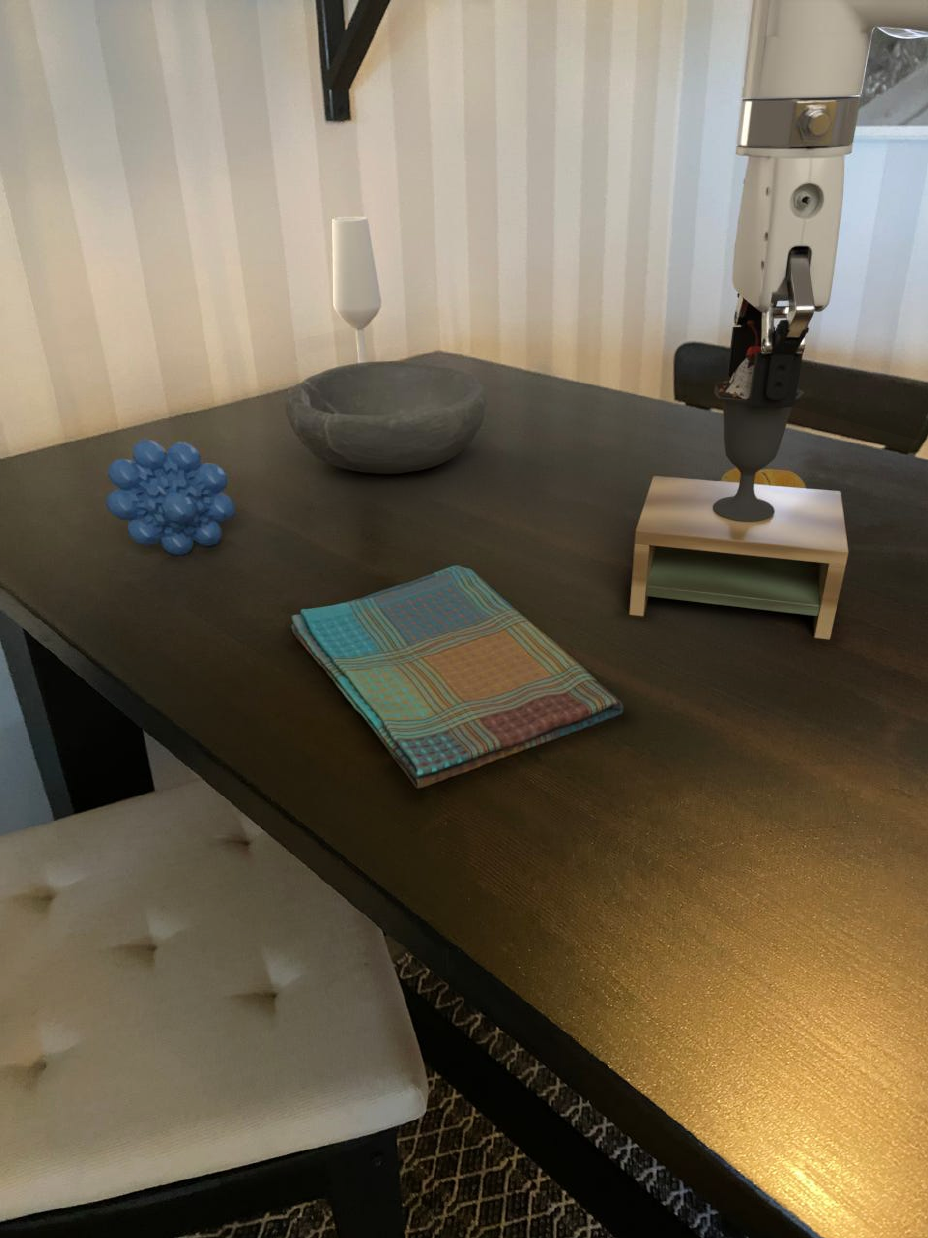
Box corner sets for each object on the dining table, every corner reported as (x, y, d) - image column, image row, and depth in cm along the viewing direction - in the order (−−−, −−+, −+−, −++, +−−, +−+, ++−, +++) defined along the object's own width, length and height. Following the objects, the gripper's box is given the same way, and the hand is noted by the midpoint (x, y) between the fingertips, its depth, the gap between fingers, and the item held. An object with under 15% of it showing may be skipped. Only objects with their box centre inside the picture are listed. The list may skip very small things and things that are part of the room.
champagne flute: (369, 405, 128) (353, 223, 116) (332, 398, 131) (314, 220, 119) (397, 393, 133) (385, 216, 121) (361, 386, 136) (346, 214, 124)
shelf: (829, 641, 72) (848, 551, 68) (629, 616, 76) (635, 530, 72) (824, 572, 82) (840, 490, 78) (646, 554, 86) (653, 475, 82)
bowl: (449, 513, 95) (445, 421, 90) (262, 492, 102) (248, 405, 97) (510, 440, 114) (510, 361, 109) (348, 426, 121) (341, 351, 115)
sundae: (719, 488, 79) (739, 311, 71) (796, 504, 75) (825, 319, 68) (688, 515, 74) (706, 329, 67) (768, 533, 71) (797, 339, 63)
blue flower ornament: (131, 587, 83) (101, 464, 77) (117, 558, 88) (88, 441, 82) (253, 557, 88) (234, 439, 82) (233, 531, 93) (214, 418, 87)
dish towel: (469, 582, 82) (468, 557, 81) (628, 715, 64) (630, 686, 63) (290, 634, 75) (286, 608, 74) (412, 799, 57) (410, 769, 56)
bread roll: (813, 520, 91) (820, 483, 89) (724, 520, 92) (728, 484, 90) (793, 488, 98) (799, 453, 96) (710, 489, 99) (714, 454, 97)
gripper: (901, 134, 53) (844, 427, 62) (813, 122, 68) (778, 360, 77) (772, 138, 53) (734, 429, 63) (713, 125, 68) (689, 362, 77)
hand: (758, 389), depth 70 cm, fingers closed on sundae, 6 cm apart
